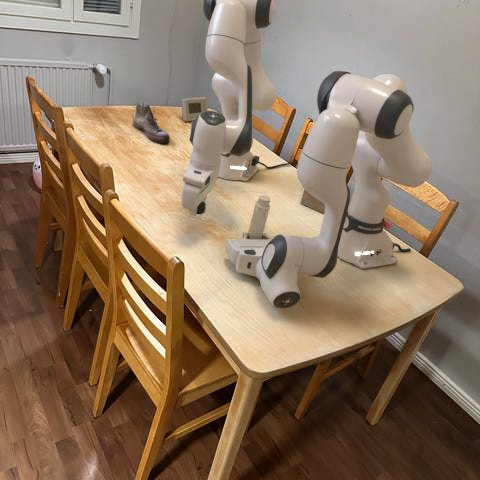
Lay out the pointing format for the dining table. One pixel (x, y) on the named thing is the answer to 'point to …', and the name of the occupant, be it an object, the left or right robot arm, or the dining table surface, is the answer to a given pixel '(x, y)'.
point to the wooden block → (312, 202)
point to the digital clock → (193, 108)
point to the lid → (201, 208)
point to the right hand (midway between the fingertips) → (253, 234)
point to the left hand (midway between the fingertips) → (197, 210)
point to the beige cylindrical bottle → (259, 217)
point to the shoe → (149, 124)
